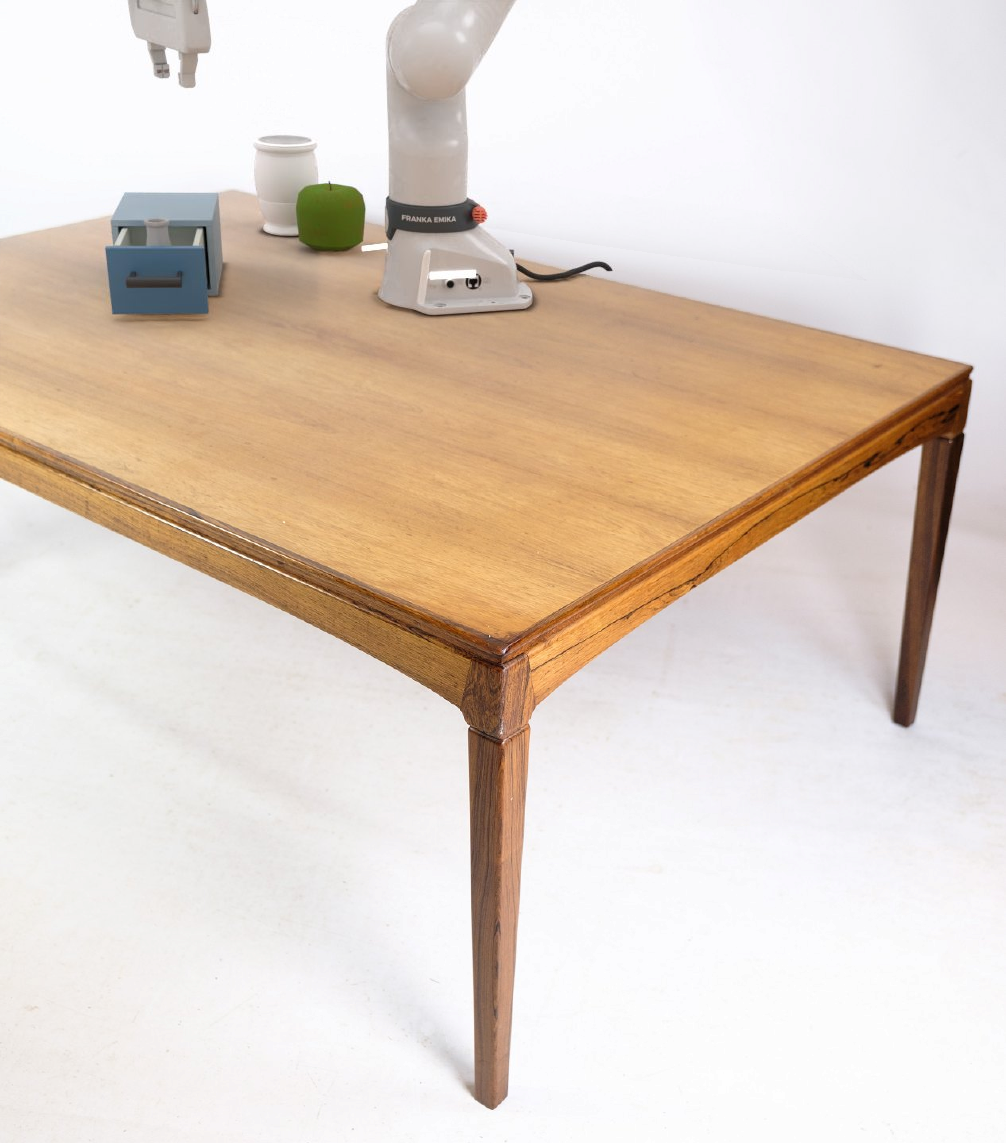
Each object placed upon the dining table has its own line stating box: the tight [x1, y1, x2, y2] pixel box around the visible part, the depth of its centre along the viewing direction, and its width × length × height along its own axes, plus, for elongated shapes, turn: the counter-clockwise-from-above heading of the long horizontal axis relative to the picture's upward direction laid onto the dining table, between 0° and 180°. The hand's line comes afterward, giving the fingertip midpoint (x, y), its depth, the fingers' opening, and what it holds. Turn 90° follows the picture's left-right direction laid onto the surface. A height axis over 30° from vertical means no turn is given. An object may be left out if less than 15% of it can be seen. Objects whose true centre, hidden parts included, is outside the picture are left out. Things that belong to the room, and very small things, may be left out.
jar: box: [252, 134, 319, 237], centre depth 217 cm, size 11×10×15 cm
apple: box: [296, 180, 367, 253], centre depth 209 cm, size 11×11×11 cm
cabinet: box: [110, 191, 224, 297], centre depth 190 cm, size 18×14×11 cm
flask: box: [144, 217, 171, 246], centre depth 176 cm, size 7×7×10 cm
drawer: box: [104, 226, 210, 315], centre depth 177 cm, size 22×13×9 cm, turn 8°
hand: (174, 82), depth 173 cm, fingers open, 8 cm apart
